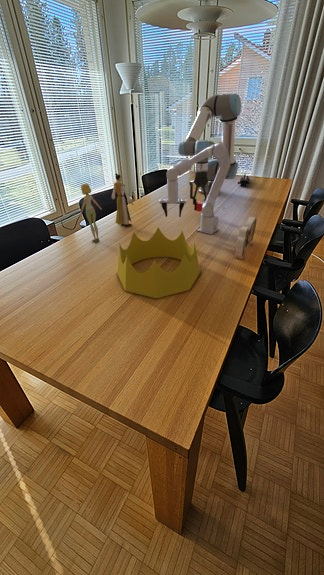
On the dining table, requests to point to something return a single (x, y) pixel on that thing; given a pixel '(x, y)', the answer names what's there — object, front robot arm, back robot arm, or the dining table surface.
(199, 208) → the cylinder
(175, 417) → the dining table surface
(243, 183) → the toy
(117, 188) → the figurine
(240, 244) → the cutout
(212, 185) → the front robot arm
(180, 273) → the crown
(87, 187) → the sculpture
